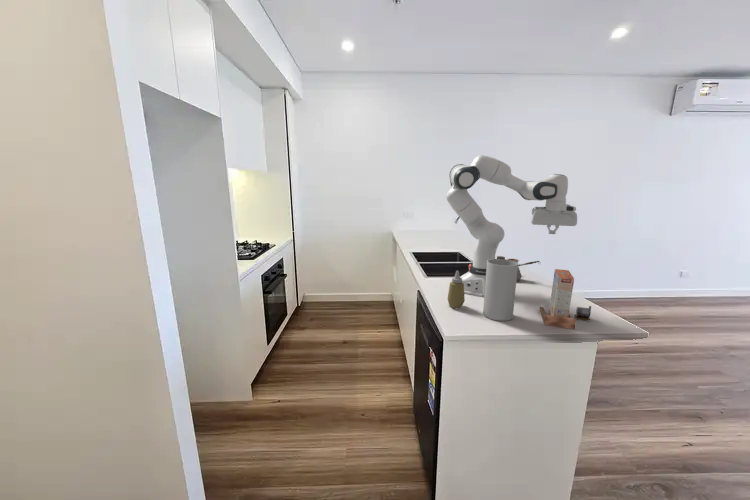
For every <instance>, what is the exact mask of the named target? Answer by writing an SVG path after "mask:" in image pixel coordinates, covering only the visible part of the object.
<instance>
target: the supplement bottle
mask: <svg viewBox="0 0 750 500" xmlns="http://www.w3.org/2000/svg"><path fill="white" fill-rule="evenodd" d="M496 259H506V256H501V255H498V256H496Z"/></svg>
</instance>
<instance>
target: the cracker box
mask: <svg viewBox="0 0 750 500" xmlns="http://www.w3.org/2000/svg"><path fill="white" fill-rule="evenodd" d="M574 283H575V277H574V276H573V274H572V273H571V271H570V270H568V269H559V268H554V273H553V281H552V287H551V294H550V295H551V296H550V301H549V309H548V312H549V315H551V316H559V317H566V318H568V316H569V314H570V309H571V302H572V301H571V300H572V296H573V291H574V290H573V289H574Z"/></svg>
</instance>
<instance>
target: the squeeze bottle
mask: <svg viewBox="0 0 750 500" xmlns="http://www.w3.org/2000/svg"><path fill="white" fill-rule="evenodd" d="M460 277H461V275H460V271H459V270H455V274H454V276H453V277H452V278H451V282H449V287H448V292H447V302H448V306H449V307H450V308H452V309H456V308H458V309H462V307H463V305H464V303H465V301H466V300H465V293H464V284H463V283H462V278H460Z"/></svg>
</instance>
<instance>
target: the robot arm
mask: <svg viewBox="0 0 750 500" xmlns="http://www.w3.org/2000/svg"><path fill="white" fill-rule="evenodd" d="M480 179H482V180H484V181H486V182H489V183H491V184H495V185H498V186H504V187H506V188H509V189H510V190H513V191H515V192H517V194H519V196H520V197H521V198H522V199H524V200H526V201H538V202H539V201H545V206H535V207H533V208H531V221H530V222H531V224H532V225H534V226H535V225H537V226H546V229H547V230H548V235H556V233H557V230H558V229H559V228H560V226H562V227H565V226H566V227H575V226H577V225H578V214H577V212H576V210H577V207H575V206H573V205H571V204H567V198H566V197H567V195H568V188H569V179H568V176H566V175H564V174H561V173H560V174H559V173H552V174H550V175H549V176H547V177H545V178H543V179H541V180H536V181H535V180H527V181H526V180H523V179H521V178H519V177H517V176H514V175H513V174H512V168H511V166H510V165H508V164H507V163H505V162H504V161H502V160H499V159H497V158H494V157H491V156H488V155H483V154H479V155H477V156H476V157H474V158H473V160H472V162H471V163H470V164H468V165H466V164H463V163H459V164H456V165H454V166H453V167H452V168H451V169H450V171H449V182H450V186H451V187H450V189H449V190H448V191H447V192H446V195H445V197H446V200H447V202H448V204H449V206H450V207H451V209H452V210H453V211H454V212H455V214H456V215H457V216H458V218H460V220H462V221H463V223H464V224H465V226H466V228H467V229H468V231H469V233H470V235H471V236H472V237H473V238H474V239H475V240H478V243H477V246H476V248H475V250H474V251H473V257H472V258H473V259H472V264H471V263H470V264H469V265H467V266H468V271H467V272H466V273H464V274H462V275H460V278H462V283H463V284H464V294H466V295H472V296H476V297H484V294H485V282H486V269H487V260H489V259H496V253H497V250H498V246H499V245H500V243H502V241H503V239H504V238H505V230H504V228H503V227H502V226H501V225H500V224H498V223H496V222H492V221H489V220H488V219H487V218H486V217H485V215H484V213H483V209H482V208H481V206H480V205H479V204H478V203H477V202H476V201H475V199H474V198H473V197H472V196H471V195H470V193H469V192H468V189H470V188H472V187H473V186H474V185H475V184H476V183H477V182H478V180H480ZM551 226H554V227H555V228H554V229H553V230H551Z"/></svg>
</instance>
